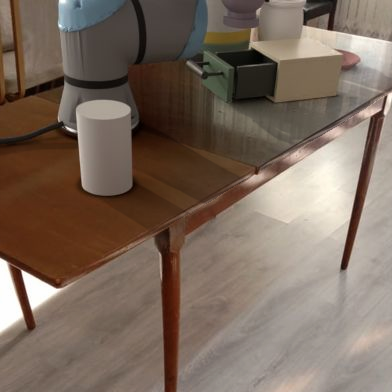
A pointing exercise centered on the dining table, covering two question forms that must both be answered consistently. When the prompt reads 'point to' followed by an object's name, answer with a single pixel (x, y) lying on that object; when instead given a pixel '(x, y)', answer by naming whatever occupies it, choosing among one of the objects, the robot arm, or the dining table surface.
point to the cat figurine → (242, 13)
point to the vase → (221, 33)
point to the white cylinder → (105, 146)
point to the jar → (280, 20)
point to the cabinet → (302, 68)
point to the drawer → (237, 73)
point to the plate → (348, 60)
